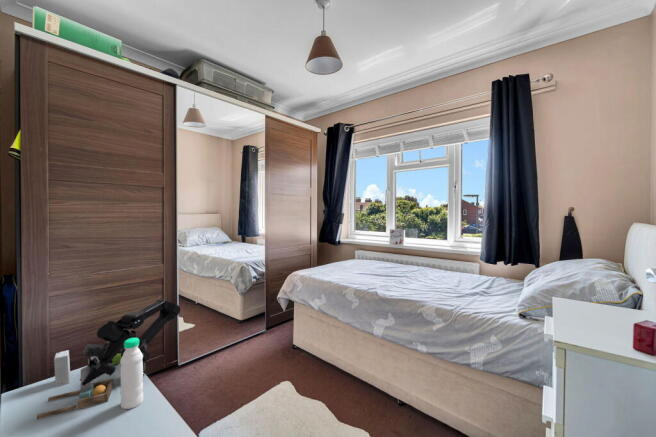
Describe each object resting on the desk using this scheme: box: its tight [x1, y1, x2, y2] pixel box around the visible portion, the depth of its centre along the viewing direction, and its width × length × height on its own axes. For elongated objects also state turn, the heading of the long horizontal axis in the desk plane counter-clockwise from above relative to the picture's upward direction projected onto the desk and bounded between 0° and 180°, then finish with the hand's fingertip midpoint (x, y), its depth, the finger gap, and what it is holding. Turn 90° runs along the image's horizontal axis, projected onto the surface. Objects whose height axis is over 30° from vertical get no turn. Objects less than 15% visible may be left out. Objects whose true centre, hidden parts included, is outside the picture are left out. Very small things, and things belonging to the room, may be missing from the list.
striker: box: [78, 366, 93, 400], centre depth 108 cm, size 3×6×12 cm, turn 29°
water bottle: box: [119, 337, 144, 410], centre depth 106 cm, size 7×7×25 cm
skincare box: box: [53, 349, 71, 387], centre depth 118 cm, size 6×4×12 cm
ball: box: [92, 385, 107, 396], centre depth 110 cm, size 4×4×4 cm
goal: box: [35, 378, 115, 420], centre depth 107 cm, size 20×11×3 cm, turn 118°
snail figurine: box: [111, 348, 123, 366], centre depth 131 cm, size 5×6×12 cm
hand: (81, 382), depth 107 cm, fingers closed on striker, 3 cm apart
